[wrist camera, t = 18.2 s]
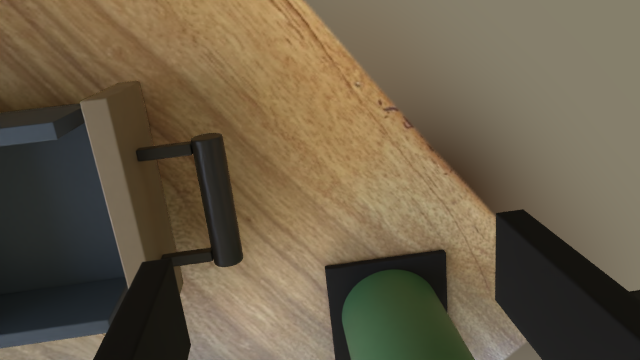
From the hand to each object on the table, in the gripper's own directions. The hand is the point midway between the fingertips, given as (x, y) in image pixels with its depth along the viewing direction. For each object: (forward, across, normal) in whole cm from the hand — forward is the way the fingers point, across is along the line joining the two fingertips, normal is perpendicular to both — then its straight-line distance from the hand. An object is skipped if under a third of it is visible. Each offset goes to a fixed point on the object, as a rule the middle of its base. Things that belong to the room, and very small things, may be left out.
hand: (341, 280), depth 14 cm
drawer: (+16, -14, -2) cm, 21 cm away
